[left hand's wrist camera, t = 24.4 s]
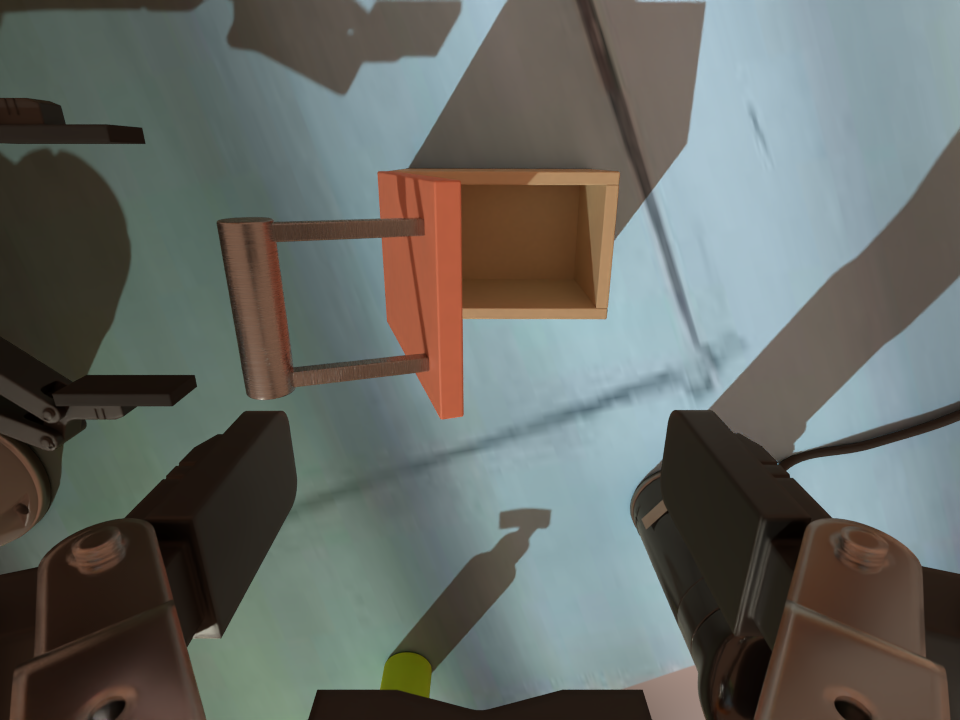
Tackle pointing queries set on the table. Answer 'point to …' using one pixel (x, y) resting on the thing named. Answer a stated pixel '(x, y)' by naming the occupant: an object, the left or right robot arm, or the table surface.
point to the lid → (408, 289)
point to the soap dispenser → (407, 674)
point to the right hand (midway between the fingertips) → (159, 273)
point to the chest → (535, 241)
